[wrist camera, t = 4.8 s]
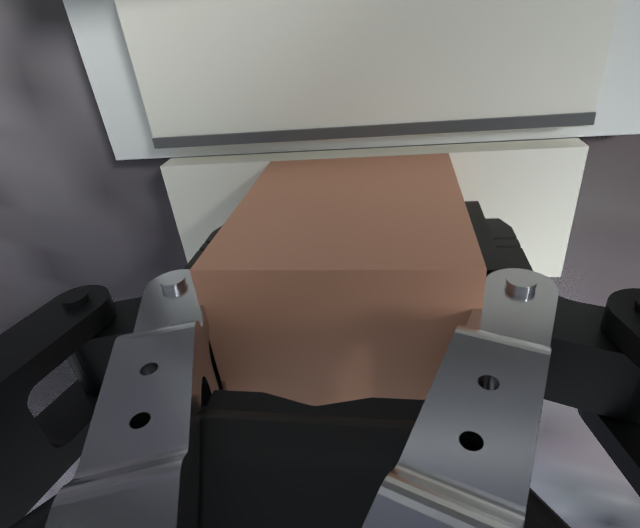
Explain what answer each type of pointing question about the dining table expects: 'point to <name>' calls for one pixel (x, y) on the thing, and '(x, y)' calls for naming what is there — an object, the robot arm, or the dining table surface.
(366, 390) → the tan block on plate
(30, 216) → the dining table surface
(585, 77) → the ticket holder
